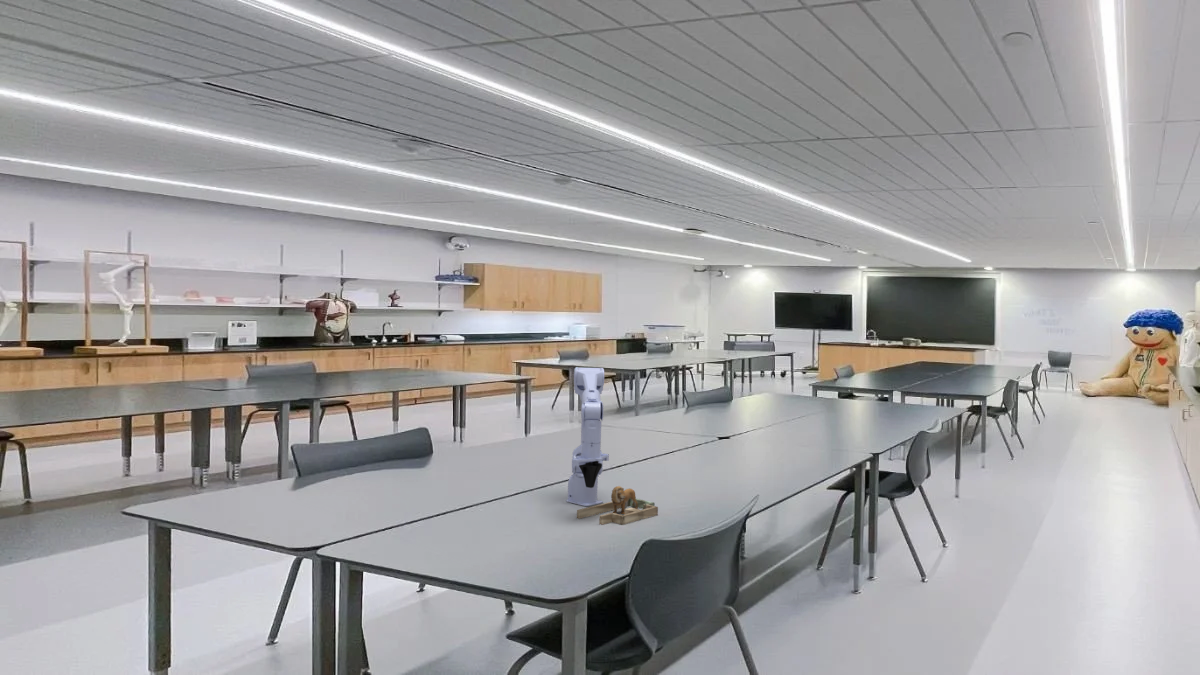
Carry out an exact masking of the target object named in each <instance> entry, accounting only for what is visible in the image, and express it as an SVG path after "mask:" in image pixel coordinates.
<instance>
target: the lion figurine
mask: <svg viewBox="0 0 1200 675" xmlns="http://www.w3.org/2000/svg"><path fill="white" fill-rule="evenodd" d="M610 496H611V502H613V505H614V510H612V513H616V514H618V509H617V506H619V505H621V508H620V509H621V510H620V515H622V514H624V515H625V509H627V508H628V507H627V505H628V500H629V498H631V500H632V501H633V504H632V506H631V507H633V506H634V503H635V507H633V508H635V509H639V508H638V503H637V501H636V499H637V498H636V492H635V490H634V489H632V488H626V489H625V488H624V487H622V486H621V485H618V486H615V487H613V488H612V490H611V495H610Z"/></svg>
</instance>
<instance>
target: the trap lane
mask: <svg viewBox="0 0 1200 675" xmlns="http://www.w3.org/2000/svg"><path fill="white" fill-rule="evenodd" d="M636 501H637V503H638V507H639V508H638V509H635V508H634V507H635V503H634V507H633V506H632V504H633V501H632V500H631V498H629V500H628V505H627V506H628V507H627V508H626V509H624V513H625V514H624V515H622V514H618V513H613V512H612V511H614V505H613V502H612V501H608V502H604V503H600V504H595V505H591V506H586V507H584V508H579V509H577V510H576V519H579V520H580V519H584V517H585V518H588V517H593V516H596V515H599V516H598V517H599V522H598V523H599V525H600V524H601V526H603V525H607V524H610V523H614V524H618V525H621V526H624V525H626V524H630V523H634V522H639V521H641V519H642V520H645V519H649V518H652V517H654V516H655V515H656V516H658V514H659V507H658V506H655V503H656V502H653V501H649V500H643V499H640V498H636ZM619 508H620V509H621V505H619V506H617V510H618V509H619ZM641 508H643V509H641ZM620 509H619V510H620ZM611 510H612V511H611ZM607 511H608V512H609V513H608V512H607ZM610 511H611V512H610ZM603 512H604V513H605V514H603ZM599 513H600V514H599ZM595 514H596V515H595ZM601 514H602V515H601ZM651 516H652V517H651ZM656 516H655V517H656ZM648 517H649V518H648Z"/></svg>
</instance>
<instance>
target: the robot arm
mask: <svg viewBox="0 0 1200 675" xmlns="http://www.w3.org/2000/svg"><path fill="white" fill-rule="evenodd" d="M573 385H574V386H573V390H574V393H575V395H577V396H579V398H580V402H581V407H580V408H581V409H580V420H581V422H580V423H581V425H580V429H581V430H580V445H578V446H577V447H575V448H574V449H573V450H572V456H571V473H572V474H571V475H570V476H569V478H568V482H567V499H565V502H567V503H571V504H575V505H579V506H582V507H591V506H595V505H599V504H604V503H603V500H600V499H598V488H599V487H598V484H599V480H598V479H599V477H600V476H601V474H602V473H603V465H604V463H603V462H604V461H605V462H607V461H609V460H610V457H609V456H610V455H609V454H608V453H603V452H602V449H601V447H602V445H601V443H602V421H603V420H604V402H603V401H602V398H601V395H602V393H603V390H604V385H605V369H604V368H603V367H581V366H580V367H578V366H576V367H574V371H573Z"/></svg>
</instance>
